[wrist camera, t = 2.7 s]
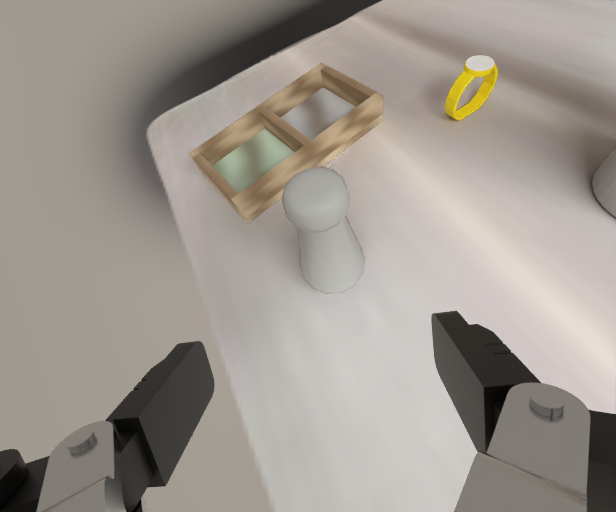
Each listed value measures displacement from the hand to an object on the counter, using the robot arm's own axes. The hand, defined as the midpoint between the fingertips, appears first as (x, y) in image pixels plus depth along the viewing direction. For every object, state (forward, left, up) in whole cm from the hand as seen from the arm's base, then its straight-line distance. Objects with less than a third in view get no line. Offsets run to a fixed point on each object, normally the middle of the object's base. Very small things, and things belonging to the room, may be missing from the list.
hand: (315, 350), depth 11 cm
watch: (-31, -14, -17) cm, 38 cm away
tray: (-14, -26, -17) cm, 34 cm away
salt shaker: (-6, -9, -17) cm, 20 cm away
